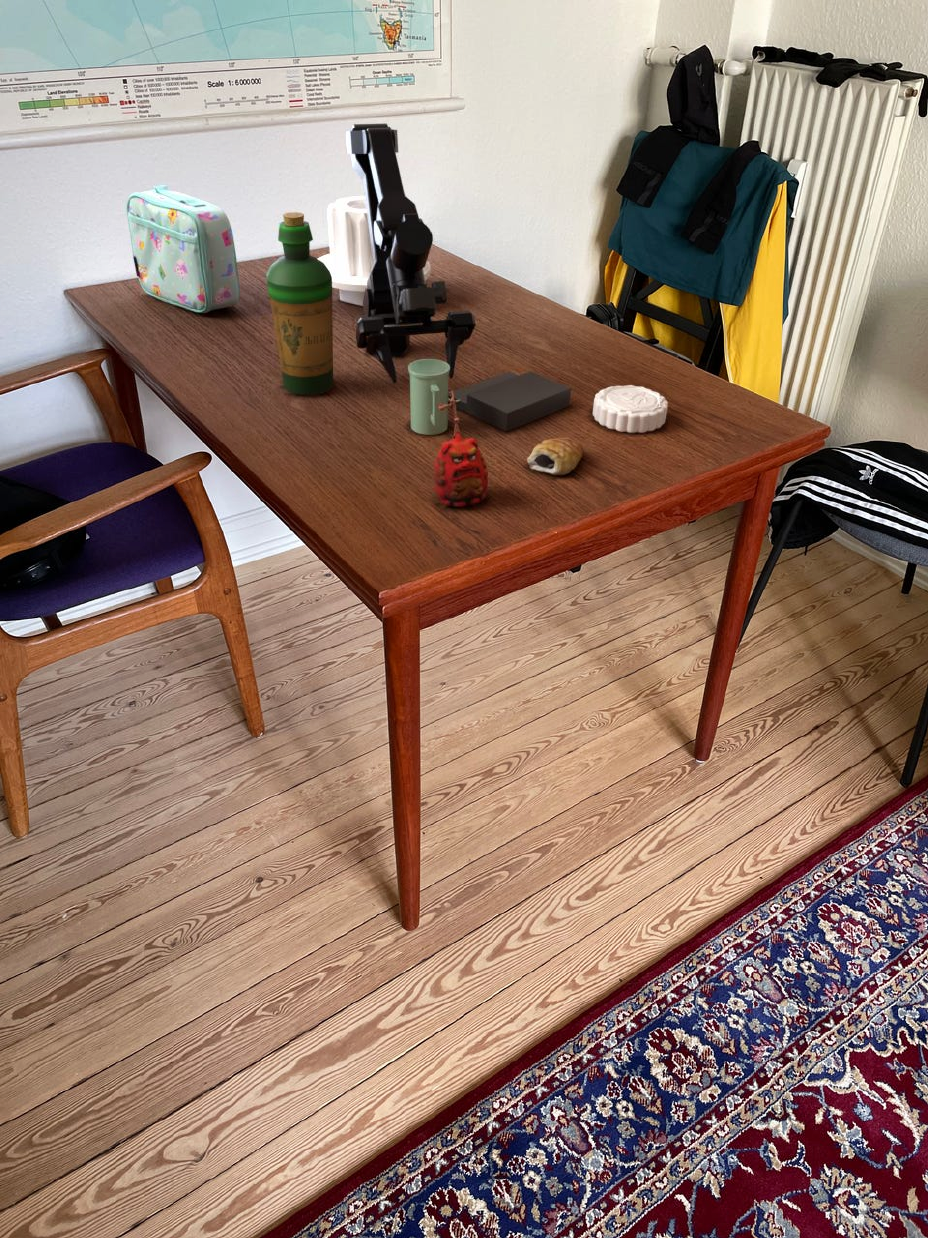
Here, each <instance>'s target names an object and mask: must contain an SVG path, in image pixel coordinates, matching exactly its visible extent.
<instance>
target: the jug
mask: <svg viewBox="0 0 928 1238" xmlns="http://www.w3.org/2000/svg"><path fill="white" fill-rule="evenodd" d="M449 372H450V366H449V364H448V363H447V361H444V360H441V359H436V358H421V359H418V360H417V359H416V360H414V361H412V362H410V363H409V364H408V365H407V373H408V374H409V412H410V413H409V415H410V418H409V419H410V429H411V430H412V431H413V432H414V433H417V434H419V435H425V436H434V435H441V434H443V433H444V432H446V431H447V430H448V428H449V407H448V408H445V409H444V410H442V411H440V410H439V405H440V403H443V404H444V405H445V404H448V393H449Z"/></svg>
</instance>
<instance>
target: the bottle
mask: <svg viewBox="0 0 928 1238" xmlns="http://www.w3.org/2000/svg"><path fill="white" fill-rule="evenodd" d="M282 217H283V220H284V221H283V220H282V221H281V222H280V223H279V225H278V234H277V235H278V236H277V241H278V242H280V243H281V244H282V250H283V254H284V255H282V256H280V257H279V258H278V259H276V260H275V261H274V262H273V263H272V264H270V266H269V268H268V269H267V272H266V273H265V279H266V286H267V291H268V297H269V303H270V308H271V314H272V321H273V327H274V335H275V339H276V347H277V352H278V357H279V363H280V369H281V375H282V383H283V388H284V389H285V390H286V391H288V392H289V393H292V394H294V395H299V396H317V395H320V394H323V393H325V392H327V391H329V390H330V389H332V387H333V386H334V338H333V337H334V335H333V334H334V331H333V328H334V327H333V325H334V323H333V322H334V321H333V288H332V276H331V273H330V271H329V270H328V268H327V267H326V265H325V264H324V263H323V262H322V261H320V260H319V259H318V257H316V256H314V255H311V253H310V252H311V251H310V250H311V242H312V241H314V237H313V233H312V230H311V227H310V223H309V221H307V220H305V214H304V213H303V212H297V211H294V212H285V213H282Z"/></svg>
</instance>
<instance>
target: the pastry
mask: <svg viewBox="0 0 928 1238" xmlns="http://www.w3.org/2000/svg"><path fill="white" fill-rule="evenodd" d="M531 451H532V452H531V453H530V455H529V456H528V457H527V458H526V461H527V463H528V465H529V468H530V469H531V470H533V471H536V472H539V473H545V474H549V475H553V476H564V475H566V474H567V475H568V474H569V473H571V472H572V471H574V470H575V469H576V467H577V465H578V464H579V462H580V461H581V458H583V457H582V456H583V451H584V448H583V445H582V443H580V442H578V441H577V440H574V439H573V438H571V437H556V438H549V439H544V440H542V441H541V443H537V444H536V445H535V446H534V447H533V448H532V450H531Z"/></svg>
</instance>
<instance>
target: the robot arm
mask: <svg viewBox="0 0 928 1238" xmlns="http://www.w3.org/2000/svg"><path fill="white" fill-rule="evenodd" d="M398 136H399V135H398V129H392V128H391V127H390V126H389V125H388V123H353V124H352V126H351V130H347V131H345V147H346V151H347V152H346V153H347V154H348V155H350V158H351V166H352V169H353V170H354V171H355V172H356V174H357V175H358V176H359V178H360V180H362V182H363V190H364V196H365V200H366V208H367V216H368V224H369V232H370V241H371V249H372V257H373V268H372V271H371V273H370V276H369V278H368V280H367V288H365V293H364V299H363V306H362V309H363V316H364V317H360V318H359V319H358V321H357V324H356V327H355V329H356V330H355V341H356V347H357V348H358V349H365V352H366V353H368V354H370V355H374V357H375V358H376V359H377V360H378V361H379V363H380V364H381V366H382V367H383V368H384V370H385V372H386V374H387V375H388V376H389V378H390V380H391V382H392V383H393V384H397V382H398V379H397V378H398V377H397V371H396V367H395V364H394V359H393V357H398V358H399V357H400V358H401V357H403V355H404V354H405V352H406V351H407V350H408V348H409V347H410V346H411V342H410V341H411V338H410V337H411V336H419V335H429V334H431V335H432V334H444V337H445V339H446V340H445V342H444V348H445V349H444V350H445V358H446V363H448V364H449V366H450V372H449V374H448V378H449V379H450V380H451V379H453V378H454V375H455V369H456V368H455V367H456V363H457V355H458V350H459V346H462V345H464V343H465V341H467V340H469V339H470V338H471V336H472V334H473V332H474V330H475V328H476V325H477V324H476V318H475V315H474V313H472V311H471V310H470V309H467V310H466V309H465V310H451V311H448V313H447V316H446V319H440V320H433V318H434V317H435V314H436V311H435V310H437V305H443V304H445V303H447V302H448V292H447V286H446V282H445V280H443V281H441V280H440V281H433V282H432V283H431V286H428V283H426V280H425V278H424V272H423V268H424V267H425V265H426V262H427V261H428V259H429V256H430V252H431V250H432V246H433V242H434V234H433V232H432V231H431V229H430V227H428V226H427V224H425V222H424V221H423V219H422V218H420V215H419V213H418V210H417V206H416V204H415V202H413V201H412V200H411V199H409V198H408V197H407V196H406V191H405V190H404V189H405V188H404V184H403V179H402V175H401V171H400V166H399V162H398V161H399V160H398V157H397V153H399V139H398ZM432 317H433V318H432Z"/></svg>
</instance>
